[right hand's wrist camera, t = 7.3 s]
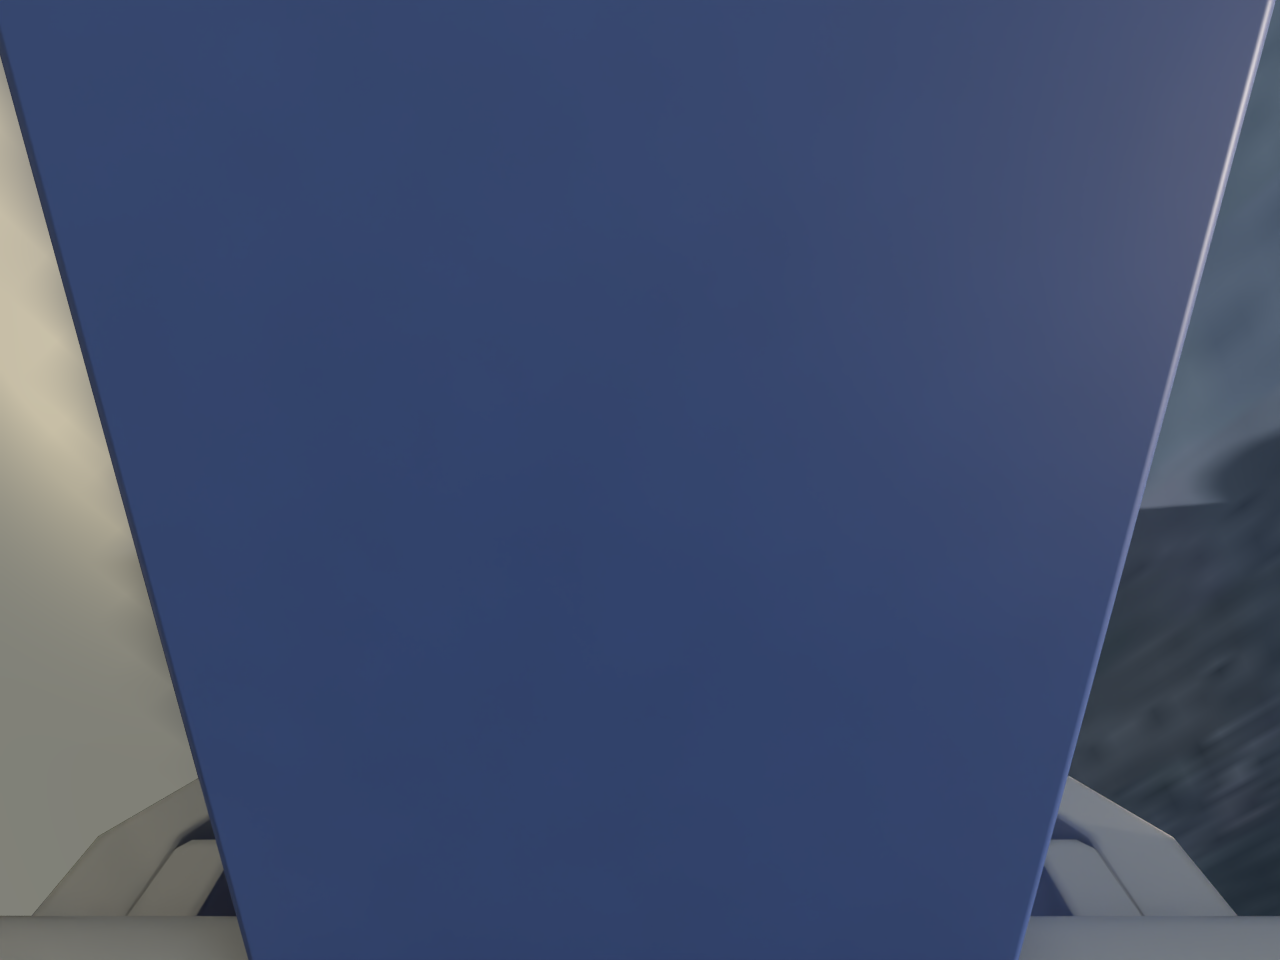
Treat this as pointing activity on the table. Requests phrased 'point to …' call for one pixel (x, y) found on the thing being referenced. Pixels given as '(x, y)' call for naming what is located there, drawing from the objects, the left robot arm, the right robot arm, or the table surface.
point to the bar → (632, 439)
